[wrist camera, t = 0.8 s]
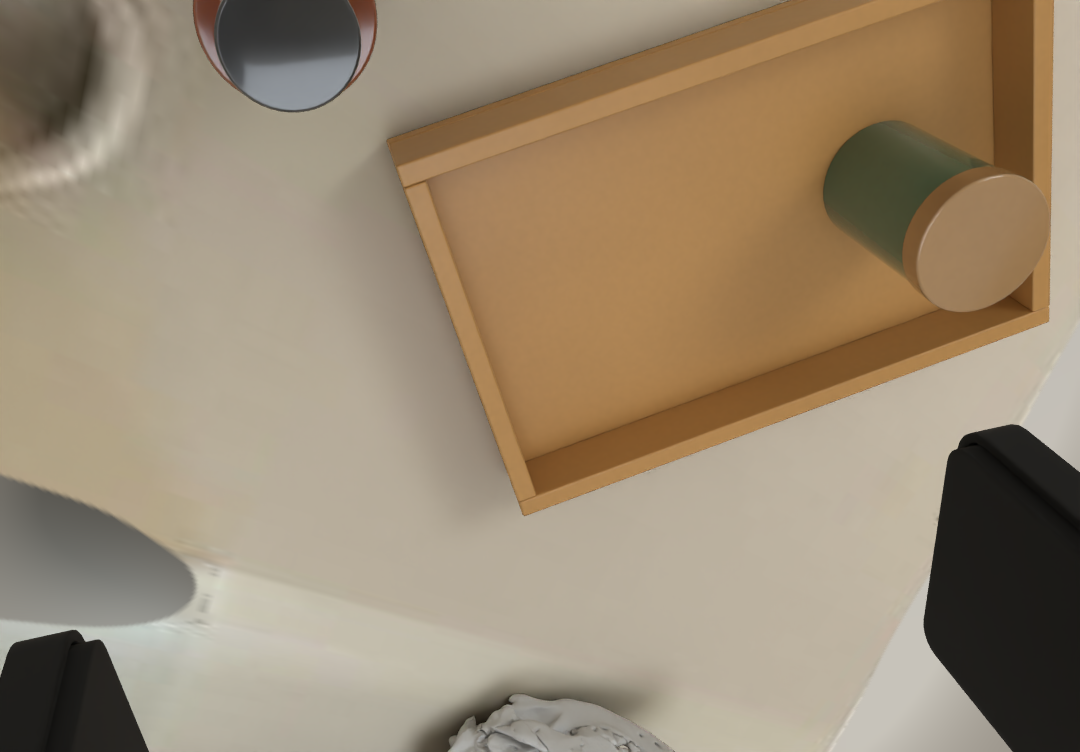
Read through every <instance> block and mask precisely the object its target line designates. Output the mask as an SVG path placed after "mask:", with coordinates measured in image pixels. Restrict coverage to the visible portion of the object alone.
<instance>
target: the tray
mask: <svg viewBox="0 0 1080 752" xmlns="http://www.w3.org/2000/svg"><path fill="white" fill-rule="evenodd" d="M1053 26H1054V0H790V1H787V2H784V3H782V4H779V5H776V6H773V7H770V8H767V9H764V10H761V11H758V12H755V13H753V14H750V15H747V16H744V17H741V18H738V19H735V20H732V21H729V22H726V23H724V24H721V25H718V26H715V27H712V28H709V29H706V30H703V31H700V32H697V33H695V34H692V35H689V36H686V37H683V38H680V39H677V40H674V41H671V42H668V43H666V44H663V45H660V46H657V47H654V48H651V49H648V50H645V51H642V52H639V53H637V54H634V55H631V56H628V57H625V58H622V59H619V60H616V61H613V62H610V63H608V64H605V65H602V66H599V67H596V68H593V69H590V70H587V71H584V72H581V73H579V74H576V75H573V76H570V77H567V78H564V79H561V80H558V81H555V82H553V83H550V84H547V85H544V86H541V87H538V88H535V89H532V90H529V91H526V92H524V93H521V94H518V95H515V96H512V97H509V98H506V99H503V100H500V101H497V102H495V103H492V104H489V105H486V106H483V107H480V108H477V109H474V110H471V111H468V112H466V113H463V114H460V115H457V116H454V117H451V118H448V119H445V120H442V121H439V122H437V123H434V124H431V125H428V126H425V127H422V128H419V129H416V130H413V131H410V132H408V133H405V134H402V135H399V136H396V137H393V138H390V139H388V140H387V144H388V147H389V150H390V153H391V156H392V159H393V162H394V165H395V168H396V170H397V173H398V176H399V179H400V181H401V184H402V186H403V189H404V192H405V195H406V198H407V200H408V203H409V206H410V208H411V211H412V214H413V217H414V219H415V222H416V225H417V228H418V230H419V233H420V236H421V238H422V241H423V244H424V247H425V249H426V252H427V255H428V258H429V260H430V263H431V266H432V268H433V271H434V274H435V277H436V279H437V282H438V285H439V288H440V290H441V293H442V296H443V298H444V301H445V304H446V307H447V309H448V312H449V315H450V318H451V320H452V323H453V326H454V328H455V331H456V334H457V337H458V339H459V342H460V345H461V347H462V350H463V353H464V356H465V358H466V361H467V364H468V367H469V369H470V372H471V375H472V377H473V380H474V383H475V386H476V388H477V391H478V394H479V397H480V399H481V402H482V405H483V407H484V410H485V413H486V416H487V418H488V421H489V424H490V427H491V429H492V432H493V435H494V437H495V440H496V443H497V446H498V448H499V451H500V454H501V457H502V459H503V462H504V465H505V467H506V470H507V473H508V476H509V478H510V481H511V484H512V487H513V489H514V492H515V495H516V497H517V500H518V503H519V506H520V508H521V511H522V514H523V515H524V516H526V515H529V514H532V513H534V512H537V511H540V510H542V509H545V508H548V507H550V506H553V505H556V504H559V503H561V502H564V501H567V500H569V499H572V498H575V497H577V496H580V495H583V494H585V493H588V492H591V491H594V490H596V489H599V488H602V487H604V486H607V485H610V484H612V483H615V482H618V481H621V480H623V479H626V478H629V477H631V476H634V475H637V474H639V473H642V472H645V471H647V470H650V469H653V468H656V467H658V466H661V465H664V464H666V463H669V462H672V461H674V460H677V459H680V458H683V457H685V456H688V455H691V454H693V453H696V452H699V451H701V450H704V449H707V448H710V447H712V446H715V445H718V444H720V443H723V442H726V441H728V440H731V439H734V438H736V437H739V436H742V435H745V434H747V433H750V432H753V431H755V430H758V429H761V428H763V427H766V426H769V425H772V424H774V423H777V422H780V421H782V420H785V419H788V418H790V417H793V416H796V415H798V414H801V413H804V412H807V411H809V410H812V409H815V408H817V407H820V406H823V405H825V404H828V403H831V402H834V401H836V400H839V399H842V398H844V397H847V396H850V395H852V394H855V393H858V392H861V391H863V390H866V389H869V388H871V387H874V386H877V385H879V384H882V383H885V382H887V381H890V380H893V379H896V378H898V377H901V376H904V375H906V374H909V373H912V372H914V371H917V370H920V369H923V368H925V367H928V366H931V365H933V364H936V363H939V362H941V361H944V360H947V359H949V358H952V357H955V356H958V355H960V354H963V353H966V352H968V351H971V350H974V349H976V348H979V347H982V346H985V345H987V344H990V343H993V342H995V341H998V340H1001V339H1003V338H1006V337H1009V336H1012V335H1014V334H1017V333H1020V332H1022V331H1025V330H1028V329H1030V328H1033V327H1036V326H1038V325H1041V324H1044V323H1047V322H1048V321H1049V303H1050V233H1051V164H1052V95H1053ZM890 120H897V121H904V122H907V123H910V124H912V125H914V126H916V127H918V128H920V129H922V130H924V131H926V132H928V133H930V134H932V135H934V136H936V137H938V138H940V139H942V140H944V141H946V142H948V143H949V144H951V145H953V146H955V147H957V148H959V149H961V150H963V151H965V152H967V153H969V154H971V155H973V156H975V157H977V158H979V159H981V160H983V161H985V162H987V163H989V164H991V165H993V166H995V167H1001V168H1004V169H1008V170H1010V171H1012V172H1014V173H1016V174H1018V175H1020V176H1022V177H1024V178H1026V179H1028V180H1030V181H1031V182H1032V183H1034V184H1035V185H1036V186H1037V187H1038V188H1039V189H1040V190H1041V192H1042V193H1043V195H1044V197H1045V198H1046V201H1047V204H1048V207H1049V212H1050V231H1049V236H1048V241H1047V244H1046V247H1045V249H1044V252H1043V254H1042V256H1041V258H1040V260H1039V262H1038V263H1037V265H1036V267H1035V268H1034V269H1033V271H1032V272H1031V274H1030V275H1029V276H1028V277H1027V278H1026V280H1025V281H1024V282H1023V283H1022V284H1021V285H1020V286H1019V287H1018V288H1017V289H1015V290H1014V291H1013V292H1012V293H1011V294H1009V295H1008V296H1006V297H1005V298H1003V299H1002V300H1000V301H998V302H997V303H995V304H993V305H990V306H988V307H986V308H982V309H979V310H975V311H970V312H954V311H948V310H944V309H942V308H939V307H937V306H936V305H934V304H933V303H931V302H930V301H928V300H927V299H926V298H925V297H923V296H922V295H921V294H919V293H918V292H917V291H916V290H915V289H914V288H913V287H912V285H911V284H910V283H909V282H908V281H907V280H906V279H904V278H903V277H902V276H900V275H899V274H898V273H896V272H895V271H894V270H892V269H891V268H890V267H888V266H887V265H886V264H884V263H883V262H882V261H880V260H879V259H878V258H877V257H875V256H874V255H873V254H871V253H870V252H869V251H867V250H866V249H865V248H863V247H862V246H861V245H859V244H858V243H857V242H855V241H854V240H853V239H851V238H850V237H849V236H847V235H846V234H845V233H843V232H842V231H841V230H839V229H838V228H837V227H836V226H835V225H834V224H833V223H832V221H831V220H830V218H829V217H828V215H827V212H826V209H825V206H824V201H823V186H824V181H825V176H826V173H827V170H828V168H829V166H830V163H831V161H832V160H833V158H834V156H835V155H836V153H837V152H838V151H839V149H840V148H841V147H842V146H843V145H844V143H845V142H846V141H847V140H849V139H850V138H851V137H852V136H853V135H855V134H856V133H857V132H859V131H860V130H862V129H864V128H866V127H868V126H870V125H872V124H875V123H879V122H883V121H890Z"/></svg>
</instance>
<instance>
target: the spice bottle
mask: <svg viewBox="0 0 1080 752" xmlns="http://www.w3.org/2000/svg"><path fill="white" fill-rule="evenodd" d="M193 16H194V24H195V28H196V33H197V36H198V39H199V42H200V44H201V47H202V49H203V51H204V53H205V55H206V57H207V59H208V60H209V61H210V63H211V64H212V66H213V67H214V69H215V70H216V71H217V72H218V73H219V74H220V76H221V77H222V78H223V79H224V80H225V81H227V82H228V83H229V84H230V85H231V86H232V87H234V88H235V89H236V90H238V91H239V92H241V93H242V94H244V95H245V96H246V97H248V98H249V99H251V100H252V101H254V102H256V103H258V104H259V105H261V106H264V107H266V108H269V109H272V110H276V111H281V112H305V111H310V110H314V109H317V108H319V107H322V106H324V105H326V104H328V103H329V102H331V101H333V100H334V99H335V98H336V97H338V96H339V95H340V94H341V93H342V92H343V91H345V90H346V89H347V88H348V87H350V86H351V85H352V84H353V83H354V81H355V80H356V79H357V78H358V77H359V76H360V74H361V73H362V71H363V70H364V68H365V67H366V65H367V63H368V61H369V59H370V56H371V54H372V51H373V48H374V44H375V40H376V33H377V11H376V4H375V0H193Z"/></svg>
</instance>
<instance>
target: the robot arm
mask: <svg viewBox="0 0 1080 752" xmlns="http://www.w3.org/2000/svg"><path fill="white" fill-rule="evenodd" d="M924 631H925V636H926V639H927V642H928V644H929V646H930V648H931V650H932V651H933V652H934V654H935V655H936V657H937V658H938V659H939V660H940V661H941V663H942V664H943V665H944V666H945V668H946V669H947V670H948V671H949V673H950V674H951V675H952V676H953V678H954V679H955V680H956V682H957V683H958V684H959V685H960V687H961V688H962V689H963V690H964V691H965V693H966V694H967V695H968V696H969V698H970V699H971V700H972V701H973V703H974V704H975V705H976V706H977V708H978V709H979V710H980V711H981V713H982V714H983V715H984V716H985V718H986V719H987V720H988V721H989V723H990V724H991V725H992V726H993V727H994V729H995V730H996V731H997V732H998V734H999V735H1000V736H1001V738H1002V739H1003V740H1004V741H1005V742H1006V744H1007V745H1008V746H1009V748H1010V749H1011V750H1012V751H1013V752H1080V472H1079V471H1077V470H1076V469H1075V468H1073V467H1072V466H1071V465H1070V464H1069V463H1067V462H1066V461H1065V460H1064V459H1062V458H1061V457H1060V456H1058V455H1057V454H1056V453H1055V452H1054V451H1052V450H1051V449H1050V448H1049V447H1047V446H1046V445H1045V444H1044V443H1042V442H1041V441H1040V440H1039V439H1037V438H1036V437H1035V436H1034V435H1032V434H1031V433H1030V432H1029V431H1027V430H1026V429H1024V428H1023V427H1021V426H1019V425H1013V424H1010V425H1006V426H1001V427H997V428H992V429H988V430H983V431H978V432H974V433H970V434H967V435H965V436H964V437H963V438H962V439H961V441H960V442H959V446H958V449H956V450H954V451H952V452H951V453H950V455H949V457H948V461H947V467H946V474H945V480H944V487H943V494H942V500H941V507H940V514H939V521H938V527H937V534H936V541H935V547H934V554H933V561H932V568H931V574H930V581H929V588H928V594H927V601H926V609H925V615H924ZM0 752H149V751H148V748H147V746H146V744H145V741H144V739H143V736H142V734H141V731H140V729H139V727H138V724H137V722H136V719H135V717H134V714H133V712H132V710H131V707H130V705H129V702H128V700H127V698H126V695H125V693H124V690H123V688H122V685H121V683H120V681H119V678H118V676H117V673H116V671H115V669H114V666H113V664H112V661H111V659H110V656H109V654H108V652H107V649H106V647H105V645H104V643H103V642H102V641H101V640H93V641H88V642H85V641H84V639H83V637H82V635H81V634H80V633H79V632H78V631H77V630H70V631H66V632H61V633H56V634H52V635H47V636H43V637H38V638H34V639H29V640H24V641H20V642H16V643H14V644H13V645H12V646H11V647H10V650H9V652H8V654H7V657H6V660H5V664H4V667H3V670H2V673H1V677H0Z"/></svg>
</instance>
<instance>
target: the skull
mask: <svg viewBox="0 0 1080 752" xmlns="http://www.w3.org/2000/svg"><path fill="white" fill-rule="evenodd" d="M509 702H511V703H513V704H512V705H504V706H503V707H502V708H501V709H500V710H496V711H494V712H493V713H492V714H491V715H490V717H489V718H488V720H487V721H486V722H485V723H481V724H479V725H478V726H476V720H475V717H474V716H473V717H470V718H468V719H466V721H465V723H464V725H463V726H462V727H461V728H460V730H459V732H458V735H454V736H451V737H450V738H449V743H450V746H451V749H450V750H449V751H448V752H539V751H542V752H675V751H674V750H672V749H671V748H670V747H669V746H668V745H666V744H665V743H664V742H662V741H661V740H660V739H658V738H657V737H656V736H654V735H653V734H652V733H650V732H649V731H647V730H645V729H644V728H642V727H640V726H638V725H637V724H635V723H633V722H631V721H629V720H628V719H625V718H624V717H621V716H619V715H617V714H615V713H613V712H612V711H609V710H608V709H605V708H603V707H601V706H598V705H596V704H592V703H587V702H583V701H578V700H574V699H558V700H554V701H546V700H540V699H536V698H533V697H530V696H528V695H525V694H514V695H512V696H511V697H510V698H509ZM571 734H572V735H571ZM545 745H546V746H545ZM621 745H624V746H626V747H628V749H627V748H620V747H619V746H621ZM615 746H616V747H615Z"/></svg>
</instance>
